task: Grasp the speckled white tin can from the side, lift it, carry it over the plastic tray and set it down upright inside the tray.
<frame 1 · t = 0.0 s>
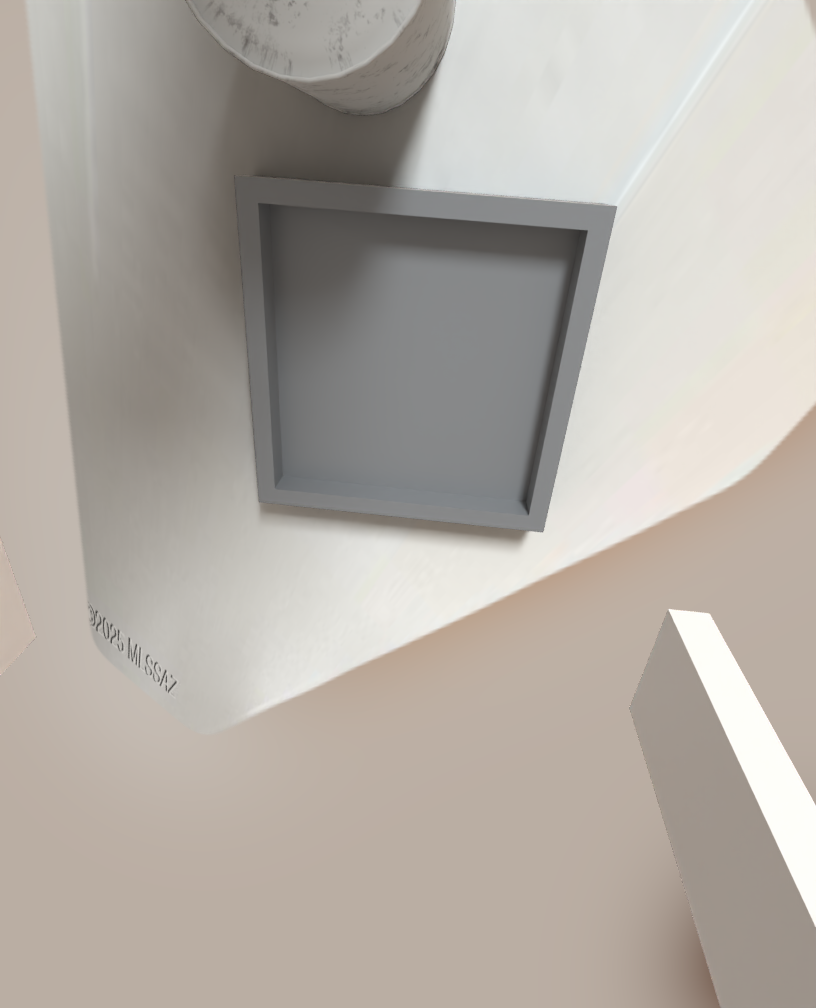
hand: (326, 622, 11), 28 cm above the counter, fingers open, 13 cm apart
tray: (413, 363, 37), on the counter
speckled white tin can: (360, 0, 28), on the counter
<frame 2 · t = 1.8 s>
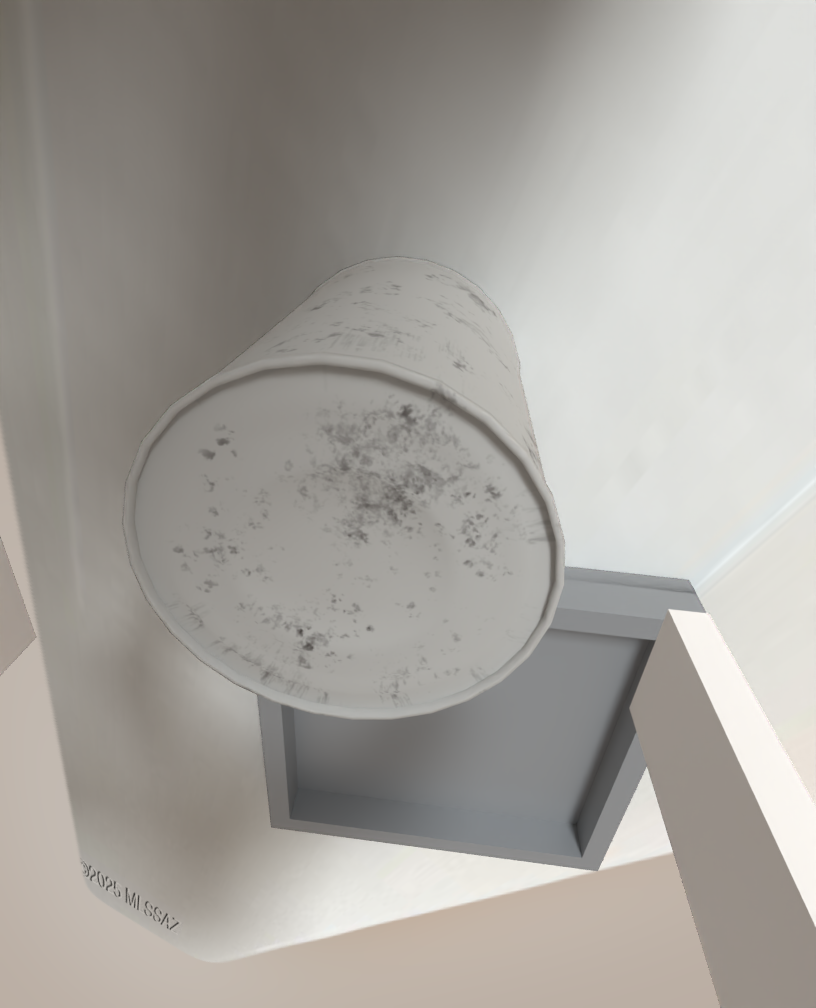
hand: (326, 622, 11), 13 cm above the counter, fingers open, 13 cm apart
tray: (451, 699, 32), on the counter
speckled white tin can: (400, 383, 23), on the counter
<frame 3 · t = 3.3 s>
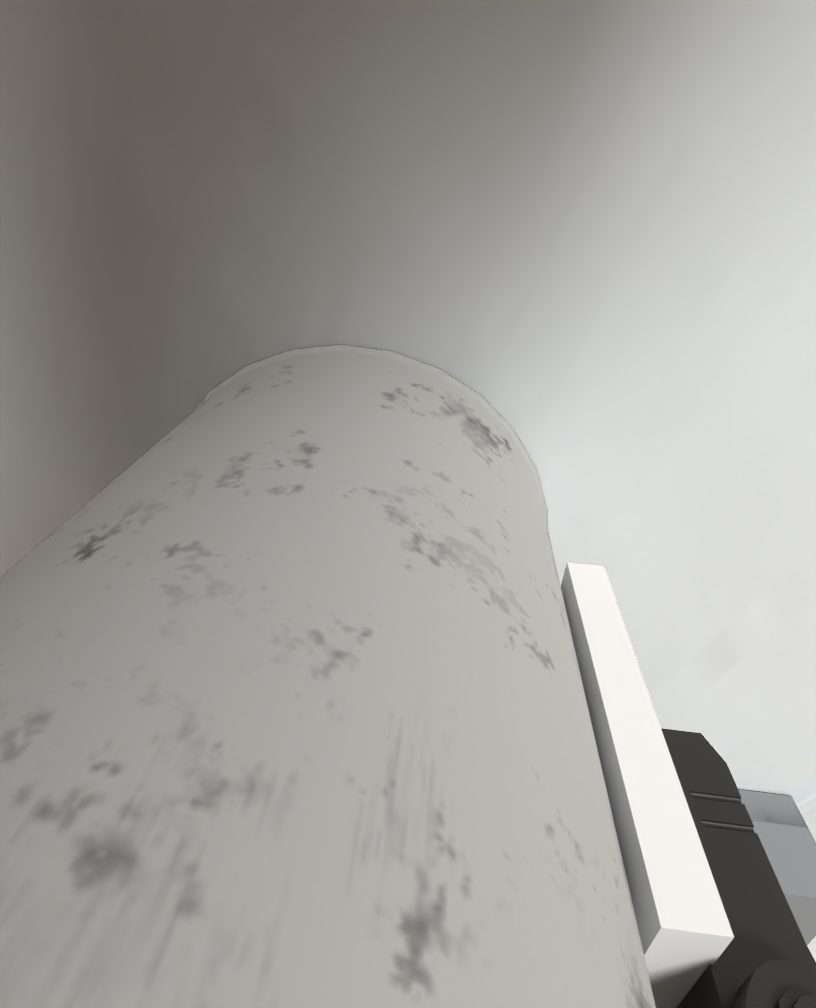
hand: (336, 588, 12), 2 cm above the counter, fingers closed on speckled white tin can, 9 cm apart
tray: (441, 910, 23), on the counter
speckled white tin can: (355, 530, 14), on the counter, touching gripper
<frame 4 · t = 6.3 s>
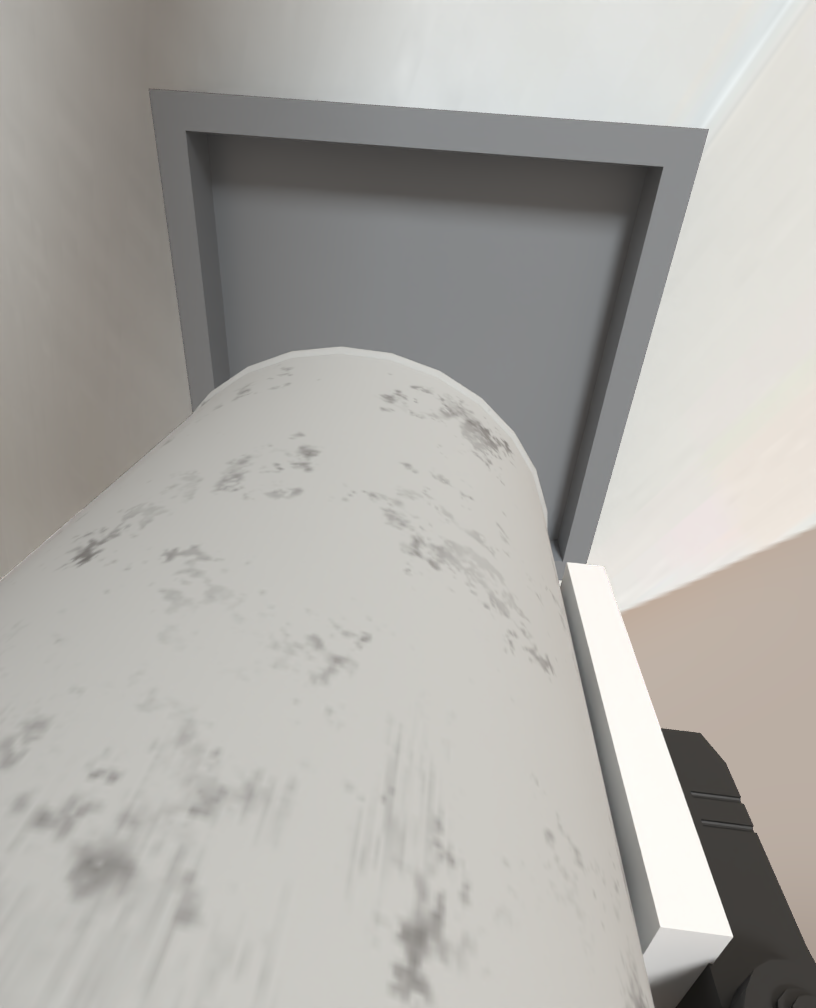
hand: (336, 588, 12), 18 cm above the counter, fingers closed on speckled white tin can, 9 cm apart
tray: (410, 361, 28), on the counter
speckled white tin can: (355, 531, 14), point 15 cm above the counter, touching gripper
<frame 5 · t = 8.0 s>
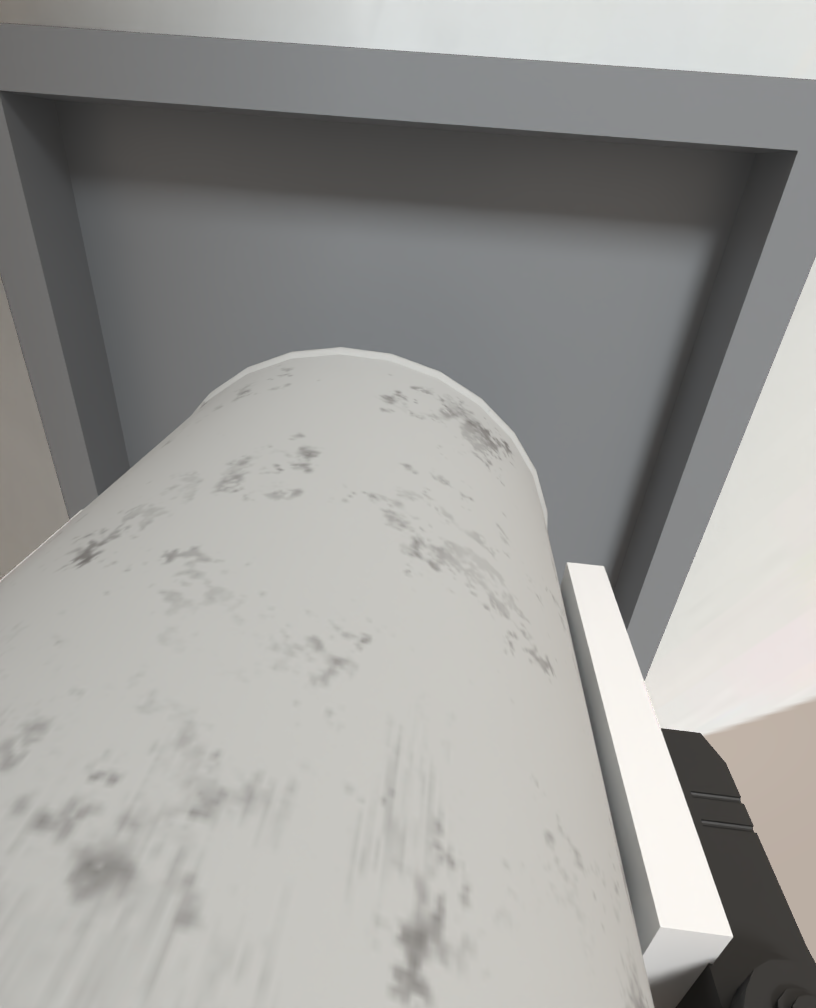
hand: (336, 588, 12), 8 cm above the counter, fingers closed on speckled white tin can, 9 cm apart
tray: (384, 435, 19), on the counter
speckled white tin can: (355, 532, 14), point 6 cm above the counter, touching gripper
when the fingers open (5 cm above the counter, at t = 9.3 s): speckled white tin can drops 1 cm, resting on tray.
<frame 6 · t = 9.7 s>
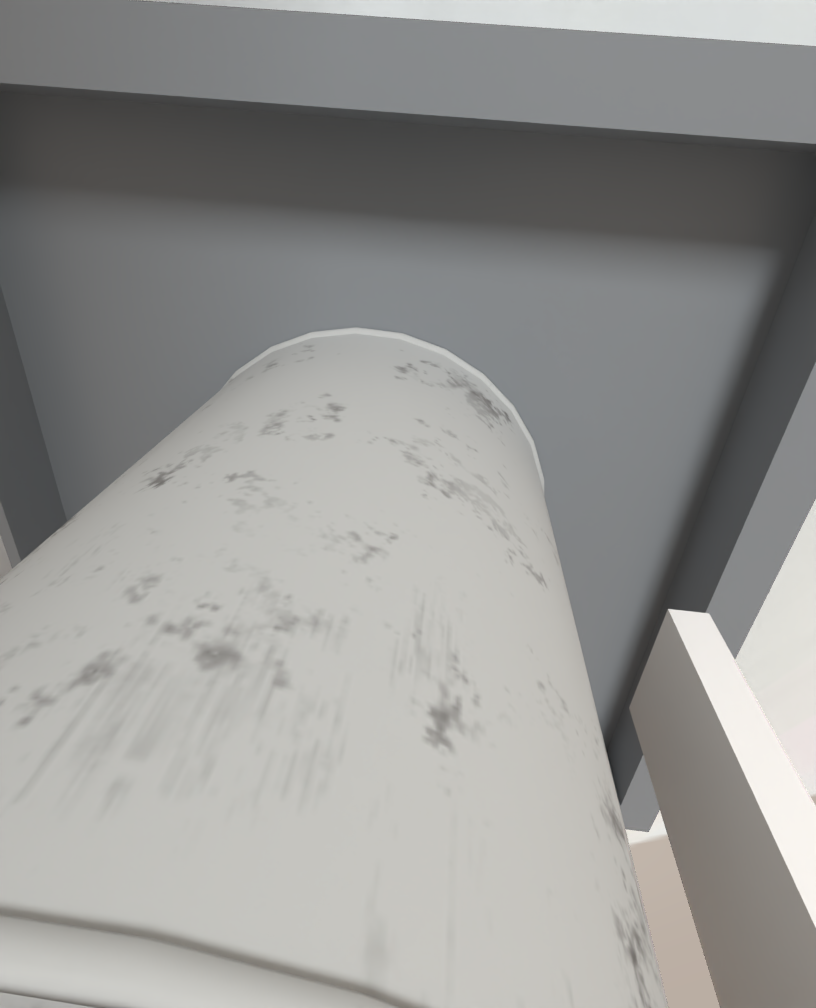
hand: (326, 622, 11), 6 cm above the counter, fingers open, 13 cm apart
tray: (368, 488, 16), on the counter
speckled white tin can: (367, 501, 16), point 1 cm above the counter, touching tray
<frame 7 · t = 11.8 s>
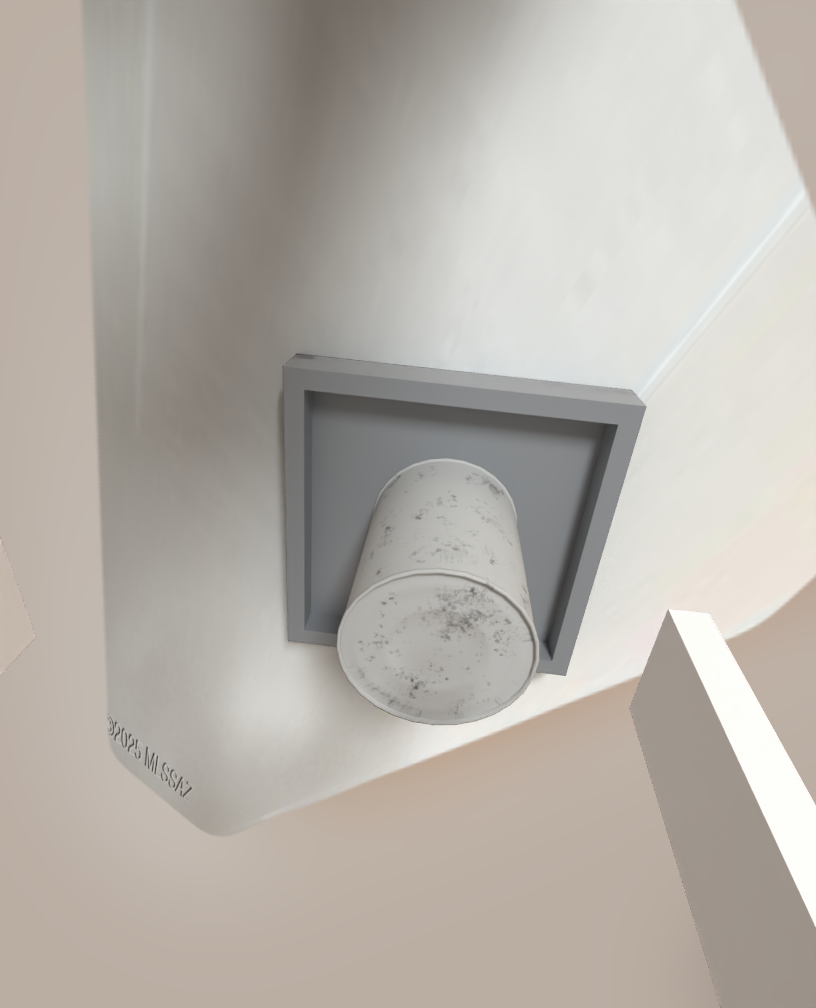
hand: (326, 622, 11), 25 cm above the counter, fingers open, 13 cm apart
tray: (443, 517, 38), on the counter
speckled white tin can: (444, 522, 38), point 1 cm above the counter, touching tray
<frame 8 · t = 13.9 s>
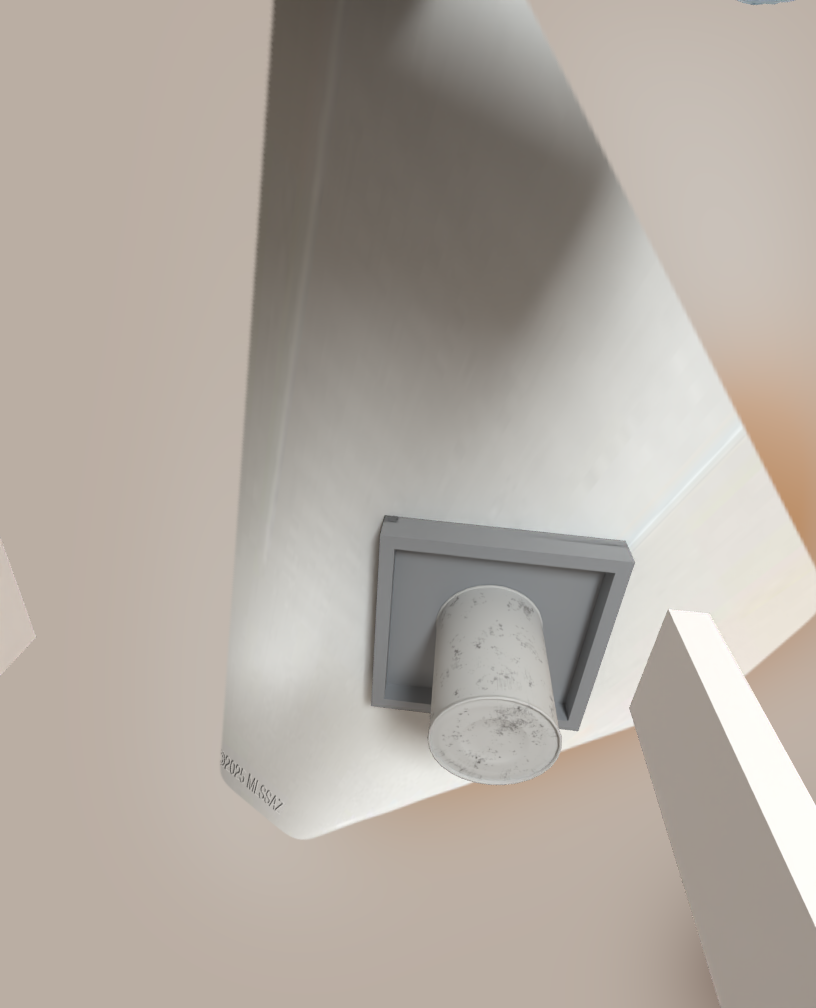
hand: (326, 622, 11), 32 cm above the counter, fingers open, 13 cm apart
tray: (487, 619, 52), on the counter
speckled white tin can: (488, 624, 51), point 1 cm above the counter, touching tray
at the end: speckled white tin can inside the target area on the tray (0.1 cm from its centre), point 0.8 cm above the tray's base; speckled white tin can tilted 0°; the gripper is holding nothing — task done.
